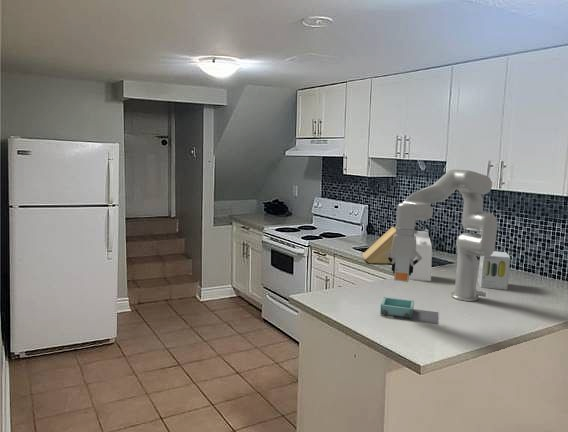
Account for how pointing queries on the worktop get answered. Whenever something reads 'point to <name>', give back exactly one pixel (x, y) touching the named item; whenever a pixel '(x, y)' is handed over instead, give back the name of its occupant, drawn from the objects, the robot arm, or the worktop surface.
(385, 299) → the teal open tray
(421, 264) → the milk
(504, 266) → the supplement box
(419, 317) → the mat
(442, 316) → the worktop surface
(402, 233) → the robot arm
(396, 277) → the skincare box
